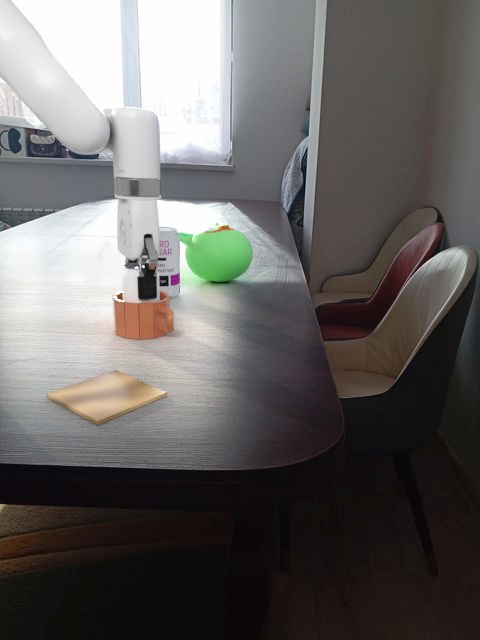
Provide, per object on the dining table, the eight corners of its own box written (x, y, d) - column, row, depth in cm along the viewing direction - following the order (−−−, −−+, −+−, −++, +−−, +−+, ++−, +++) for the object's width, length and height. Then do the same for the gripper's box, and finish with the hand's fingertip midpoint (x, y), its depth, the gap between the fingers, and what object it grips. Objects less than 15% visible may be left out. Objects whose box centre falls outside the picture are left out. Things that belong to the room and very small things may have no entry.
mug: (103, 330, 93) (101, 295, 91) (145, 318, 101) (144, 286, 98) (151, 348, 86) (150, 310, 84) (192, 334, 94) (192, 300, 91)
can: (163, 325, 97) (162, 263, 93) (155, 337, 91) (154, 270, 87) (130, 323, 97) (127, 260, 93) (119, 334, 91) (116, 268, 87)
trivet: (46, 397, 67) (46, 393, 67) (115, 373, 76) (115, 369, 76) (97, 425, 61) (97, 421, 61) (166, 396, 70) (166, 392, 69)
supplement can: (169, 289, 123) (168, 225, 118) (186, 297, 117) (185, 230, 111) (137, 293, 118) (135, 226, 113) (153, 301, 112) (151, 232, 107)
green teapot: (218, 292, 123) (219, 229, 118) (169, 279, 132) (168, 221, 127) (263, 280, 137) (266, 224, 131) (216, 270, 146) (217, 217, 141)
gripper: (102, 185, 91) (108, 284, 97) (130, 193, 77) (134, 308, 83) (144, 185, 94) (147, 281, 101) (177, 194, 80) (178, 304, 87)
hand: (141, 292), depth 92 cm, fingers closed on can, 6 cm apart
